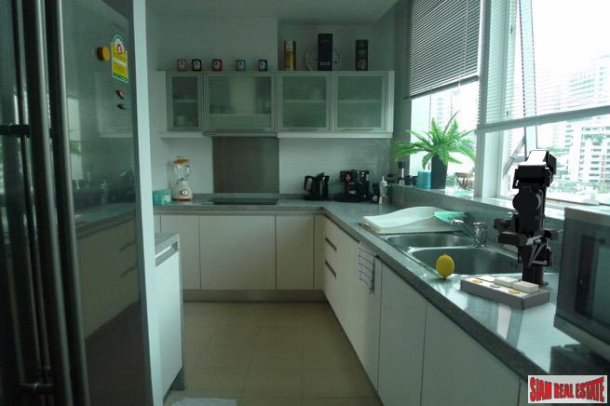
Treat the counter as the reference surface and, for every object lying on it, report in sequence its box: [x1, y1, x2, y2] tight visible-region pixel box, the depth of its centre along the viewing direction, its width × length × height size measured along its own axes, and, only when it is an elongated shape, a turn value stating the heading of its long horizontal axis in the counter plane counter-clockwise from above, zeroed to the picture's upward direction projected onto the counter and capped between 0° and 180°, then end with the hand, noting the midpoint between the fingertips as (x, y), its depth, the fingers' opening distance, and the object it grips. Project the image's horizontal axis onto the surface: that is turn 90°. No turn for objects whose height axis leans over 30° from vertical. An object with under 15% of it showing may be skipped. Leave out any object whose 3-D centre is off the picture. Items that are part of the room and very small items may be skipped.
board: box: [459, 273, 551, 311], centre depth 107 cm, size 12×19×3 cm, turn 29°
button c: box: [513, 281, 540, 294], centre depth 102 cm, size 4×4×2 cm
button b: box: [494, 275, 519, 288], centre depth 107 cm, size 4×4×2 cm
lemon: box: [435, 253, 455, 279], centre depth 123 cm, size 6×6×8 cm
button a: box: [477, 276, 494, 283], centre depth 112 cm, size 4×4×2 cm
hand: (526, 267), depth 102 cm, fingers closed
